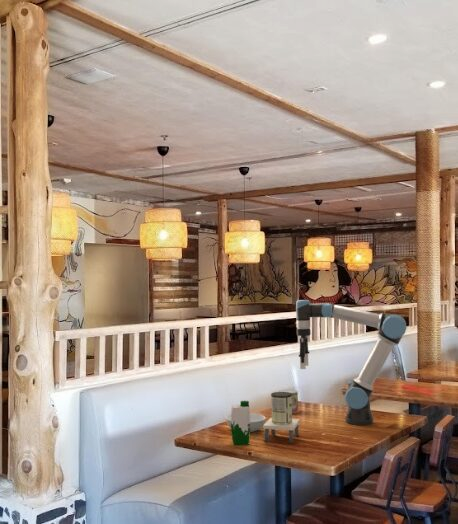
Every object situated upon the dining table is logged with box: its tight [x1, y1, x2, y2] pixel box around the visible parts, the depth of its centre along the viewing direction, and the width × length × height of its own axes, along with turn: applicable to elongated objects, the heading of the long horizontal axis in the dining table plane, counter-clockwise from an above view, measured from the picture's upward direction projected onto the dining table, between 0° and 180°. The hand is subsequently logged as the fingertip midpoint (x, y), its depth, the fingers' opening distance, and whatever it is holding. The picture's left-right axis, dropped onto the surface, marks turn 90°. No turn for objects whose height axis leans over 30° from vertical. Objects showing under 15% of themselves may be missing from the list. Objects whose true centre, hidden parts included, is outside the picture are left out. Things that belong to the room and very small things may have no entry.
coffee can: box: [270, 391, 293, 424], centre depth 302 cm, size 10×10×14 cm
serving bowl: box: [225, 413, 267, 433], centre depth 319 cm, size 21×21×7 cm
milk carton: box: [230, 400, 251, 446], centre depth 293 cm, size 9×9×20 cm
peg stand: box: [262, 417, 301, 445], centre depth 301 cm, size 15×18×8 cm
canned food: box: [278, 389, 299, 414], centre depth 365 cm, size 11×11×12 cm
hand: (304, 367), depth 332 cm, fingers open, 13 cm apart
